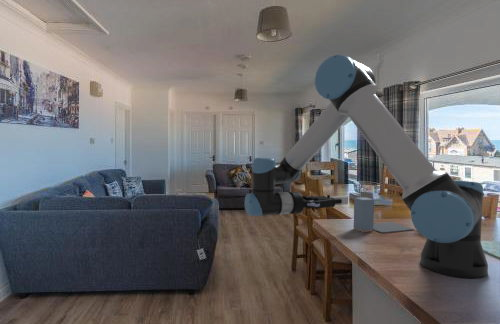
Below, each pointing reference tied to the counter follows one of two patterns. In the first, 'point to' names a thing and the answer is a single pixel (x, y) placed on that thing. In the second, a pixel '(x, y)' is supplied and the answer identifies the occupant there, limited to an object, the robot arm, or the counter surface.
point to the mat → (389, 227)
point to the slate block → (363, 214)
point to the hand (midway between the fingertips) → (346, 200)
